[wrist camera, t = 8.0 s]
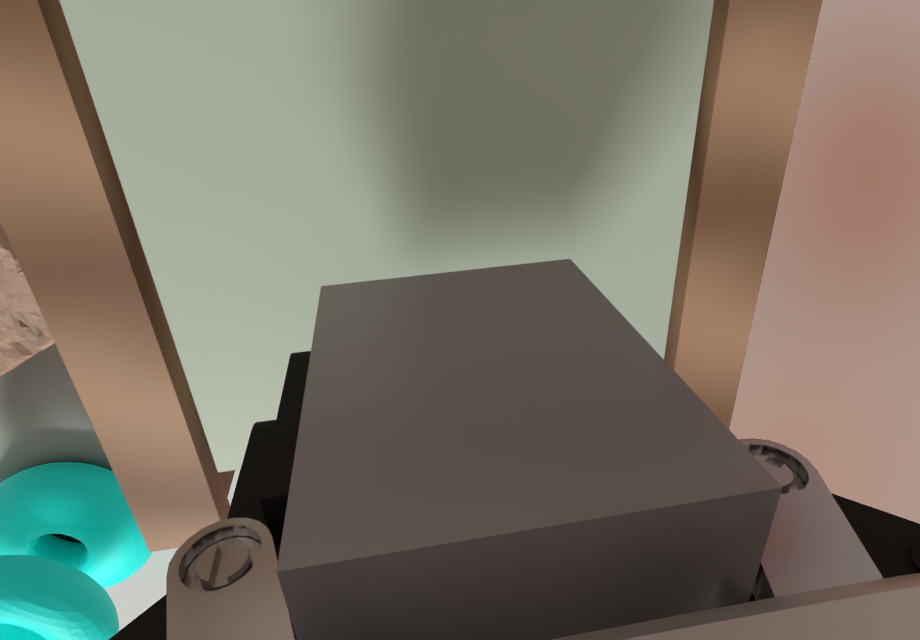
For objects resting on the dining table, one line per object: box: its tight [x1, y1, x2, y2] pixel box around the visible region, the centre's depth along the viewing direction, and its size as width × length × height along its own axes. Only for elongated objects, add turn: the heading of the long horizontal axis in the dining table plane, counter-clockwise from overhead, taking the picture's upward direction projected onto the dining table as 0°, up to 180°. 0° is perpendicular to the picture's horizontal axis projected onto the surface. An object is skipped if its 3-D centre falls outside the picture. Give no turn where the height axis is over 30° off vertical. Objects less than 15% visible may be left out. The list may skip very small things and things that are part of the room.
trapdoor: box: [59, 0, 714, 472], centre depth 15 cm, size 14×14×1 cm
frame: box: [0, 0, 822, 552], centre depth 22 cm, size 24×20×16 cm
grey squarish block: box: [276, 259, 782, 640], centre depth 9 cm, size 5×5×6 cm
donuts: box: [0, 462, 152, 640], centre depth 32 cm, size 10×10×10 cm
